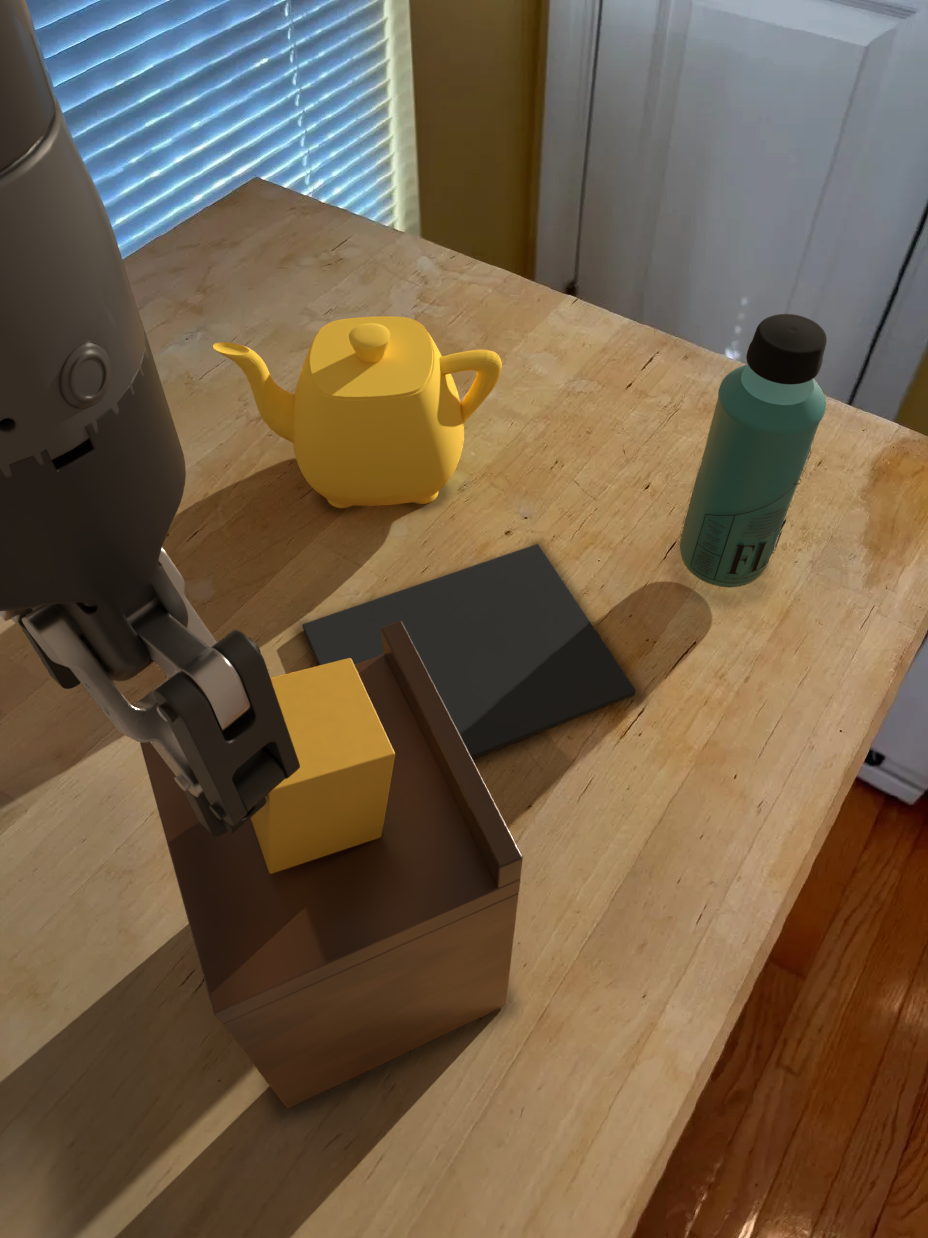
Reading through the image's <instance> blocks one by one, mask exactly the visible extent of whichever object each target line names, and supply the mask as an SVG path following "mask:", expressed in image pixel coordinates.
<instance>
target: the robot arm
mask: <svg viewBox="0 0 928 1238" xmlns="http://www.w3.org/2000/svg"><path fill="white" fill-rule="evenodd" d="M53 83H54V82H53V80H52V77H51V73H50V71H49V67H48V65H47V62H46V59H45V56H44V53H43V50H42V46H41V44H40V40H39V37H38V34H37V31H36V28H35V24H34V22H33V19H32V16H31V13H30V9H29V6H28V3H27V0H0V617H1V618H2V619H3V620H4V621H5V622H8V621H9V620H11V621H12V622H14V623H15V624H18V625H19V627H20V628H21V630H22V632H23V633H24V636H25V637H26V638H27V640H28V641H29V643H30V645H31V646H32V648H33V650H34V651H35V652H36V655H37V656H38V658H39V659H40V661H41V662H42V664H43V666H44V667H45V670H47V672H48V674H49V676H50V677H51V678H52V679H53V680H54V681H55V683H57V684H58V685H59V686H60V687H61V688H62V689H65V690H72V689H74V688H76V687H77V686H79V685H80V684H81V685H82V686H83V688H84V689H85V690H86V691H87V693H88V695H90V697H91V698H92V699H93V701H94V702H95V703H96V704H97V706H98V707H99V708H100V709H101V711H102V713H104V715H105V716H106V717H107V719H108V720H109V721H110V722H111V724H112V725H113V726H114V728H115V729H116V730H117V731H118V732H119V733H120V734H121V735H123V736H125V737H127V738H129V739H131V740H133V741H136V742H138V743H140V742H142V743H147V742H150V743H151V744H152V745H153V747H154V748H155V749H156V750H157V752H158V753H159V754H160V756H161V757H162V758H163V760H164V761H165V762H166V764H167V765H168V766H169V768H170V769H171V770H172V771H173V773H174V774H175V775H176V777H175V778H174V779H175V781H176V782H177V784H178V785H179V786H180V787H181V788H182V789H183V790H184V792H185V794H186V796H187V798H188V800H189V802H190V804H191V806H192V808H193V810H194V812H195V814H196V816H197V818H198V820H199V822H200V823H201V824H202V825H203V826H204V827H205V828H206V829H207V830H208V831H209V832H210V833H211V834H212V835H213V836H220V835H222V834H224V833H226V832H227V831H229V832H230V833H231V834H233V833H234V832H235V831H236V830H237V829H238V828H239V827H241V826H242V825H243V824H244V823H245V822H246V821H247V820H248V819H250V818H251V817H252V816H253V815H254V814H255V813H256V812H258V811H259V810H260V809H261V808H262V807H263V806H264V805H265V804H266V802H267V801H266V798H265V796H266V795H267V794H268V793H270V792H271V791H272V790H273V789H274V788H275V787H276V786H277V785H279V784H280V783H281V782H282V781H283V780H284V779H288V778H289V777H290V776H291V775H292V774H293V773H295V772H296V771H297V770H298V769H299V768H300V764H299V761H298V758H297V755H296V752H295V749H294V746H293V743H292V740H291V737H290V734H289V731H288V728H287V725H286V723H285V720H284V717H283V714H282V711H281V708H280V705H279V702H278V699H277V696H276V693H275V690H274V687H273V684H272V681H271V678H272V677H271V676H270V672H269V669H268V666H267V664H266V660H265V658H264V657H263V655H262V653H261V651H262V650H261V649H260V647H259V645H258V644H257V643H256V642H255V641H254V640H253V639H252V638H251V637H249V636H247V635H246V634H245V633H243V632H242V631H240V630H238V629H233V630H232V631H230V632H229V633H228V634H226V635H225V636H224V637H222V638H221V639H220V640H219V641H217V640H216V639H215V637H214V636H213V635H212V633H211V632H210V630H209V629H208V627H207V626H206V624H205V623H204V621H203V620H202V619H201V617H200V615H199V614H198V613H197V611H196V610H195V609H194V607H193V606H192V604H191V603H190V601H189V599H188V598H187V596H186V595H185V589H186V583H185V579H184V576H183V575H182V574H181V573H180V571H179V569H178V568H177V567H176V565H175V563H174V562H173V561H172V559H171V558H170V556H169V555H168V554H167V552H166V551H165V549H164V548H163V547H164V543H165V541H166V537H167V535H168V533H169V530H170V528H171V525H172V523H173V521H174V519H175V517H176V514H177V512H178V510H179V508H180V505H181V502H182V499H183V496H184V491H185V485H186V477H187V473H186V461H185V460H186V459H185V455H184V451H183V449H182V448H183V447H182V444H181V442H180V438H179V435H178V431H177V429H176V426H175V423H174V419H173V416H172V412H171V410H170V407H169V403H168V400H167V397H166V393H165V390H164V387H163V384H162V381H161V378H160V374H159V371H158V367H157V365H156V361H155V358H154V356H153V355H154V354H153V352H152V349H151V346H150V342H149V339H148V336H147V333H146V330H145V326H144V323H143V320H142V317H141V315H140V312H139V308H138V304H137V302H136V299H135V295H134V292H133V289H132V286H131V282H130V279H129V276H128V273H127V270H126V267H125V263H124V259H123V256H122V253H121V250H120V246H119V243H118V241H117V238H116V237H117V236H116V234H115V232H114V229H113V225H112V223H111V220H110V217H109V215H108V212H107V209H106V207H105V204H104V202H103V199H102V197H101V195H100V192H99V191H98V188H97V186H96V184H95V182H94V180H93V177H92V175H91V174H90V172H89V169H88V167H87V165H86V163H85V162H84V159H83V157H82V155H81V153H80V151H79V149H78V146H77V144H76V141H75V140H74V138H73V135H72V133H71V130H70V129H69V125H68V123H67V120H66V118H65V115H64V113H63V110H62V107H61V105H60V102H59V99H58V98H57V95H56V90H55V86H54V84H53ZM153 663H155V664H156V665H157V666H158V667H159V668H160V670H161V671H162V672H163V673H164V675H165V677H167V679H166V680H165V681H164V682H162V683H161V684H159V685H158V686H157V687H155V688H154V689H153V690H152V691H150V692H149V693H148V694H147V695H145V696H144V697H143V698H141V699H140V700H138V701H136V702H132V703H130V702H129V700H128V699H127V697H126V696H125V694H123V692H122V691H121V690H120V688H119V687H118V686H117V685H116V683H115V682H125V681H129V680H131V679H133V678H135V677H137V675H139V674H141V673H142V672H143V671H144V670H146V668H148V667H149V666H151V665H152V664H153Z"/></svg>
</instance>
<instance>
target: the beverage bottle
mask: <svg viewBox="0 0 928 1238" xmlns="http://www.w3.org/2000/svg"><path fill="white" fill-rule="evenodd" d="M827 339H828V338H827V334H826V331H825V330H824V328H823V327H822V326H821V325H819V324H818V323H817V322H815V321H814V320H812V319H810V318H808V317H805V316H802V315H798V314H794V313H793V314H792V313H779V314H773V315H771V316H768V317H765V318H764V319H763V320H761V321H760V323H759V324H758V325H757V327H756V328H755V332H754V334H753V337H752V340H751V342H750V343H749V345H748V348H747V352H746V357H745V359H746V363H747V364H744V365H741V366H739V367H737V368H735V369H734V370H732V371H730V372H729V373H727V375H726V376H725V377H724V378H723V379H722V381H721V382H720V384H719V387H718V391H717V399H716V403H715V407H714V411H713V415H712V419H711V423H710V427H709V432H708V435H707V439H706V442H705V446H704V452H703V453H702V457H701V459H700V463H698V466H699V467H697V472H696V476H695V479H694V483H693V487H692V489H690V492H689V493H690V494H689V496H688V497H690V495H691V497H690V499H689V500H687V501H688V502H687V503H688V504H687V508H686V511H685V512H686V515H685V516H684V517H683V520H682V525H681V529H682V530H680V532H679V533H681V534H680V535H679V536H678V537H679V540H678V543H677V544H678V546H679V550H680V556H681V560H682V562H683V564H684V565H685V567H686V569H687V570H688V571H689V572H690V573H691V574H692V575H693V576H694V577H696V578H697V579H699V580H700V581H703V582H704V583H707V584H709V585H712V586H716V587H722V588H738V587H739V588H740V587H743V586H746V585H749V584H751V583H752V582H754V581H755V580H757V579H758V578H759V577H761V576H762V575H763V574H764V572H765V571H766V570H768V569H769V565H770V564H771V562H770V561H772V560H773V558H772V556H774V554H775V553H776V549H777V547H778V545H779V541H780V539H781V535H782V533H783V528H784V526H785V524H786V522H787V518H786V517H787V515H788V514H787V513H788V512H789V509H790V507H791V504H792V502H793V501H792V500H793V498H794V496H795V495H794V494H795V492H796V489H797V487H798V485H800V484H801V482H802V479H801V477H803V475H804V472H805V471H806V469H807V466H808V462H809V461H810V458H811V455H812V453H813V452H812V446H813V445H814V443H815V436H816V434H817V431H818V428H819V425H820V422H821V421H822V420H823V418H824V416H825V412H826V408H827V399H826V395H825V393H824V392H823V389H822V388H821V386H820V385H819V384H818V382H817V380H816V379H815V378H816V377H817V376H818V374H819V372H820V371H821V367H822V365H823V360H824V355H825V351H826V346H827ZM691 492H692V493H691ZM770 559H771V560H770Z"/></svg>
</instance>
